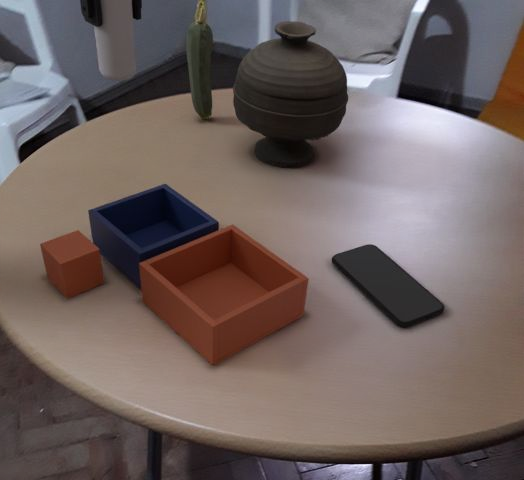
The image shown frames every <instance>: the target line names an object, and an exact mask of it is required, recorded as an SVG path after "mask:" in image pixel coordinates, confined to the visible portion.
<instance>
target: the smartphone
mask: <svg viewBox="0 0 524 480" xmlns="http://www.w3.org/2000/svg"><path fill="white" fill-rule="evenodd" d="M331 263H332V264H333V266H335V268H336V269H337V270H338V271H340V272H341V273H342V275H344V276H345V277H346V278H347V279H348V280H349V281H350V282H351V283H353V285H355V287H356V288H358V289H359V290H360V291H361V292H362V293H363V294H364V295H365V296H366V297H367V298H368V299H369V300H370V301H371V302H373V304H375V305H376V306H377V307H378V308H379V309H380V310H381V312H383V313H384V314H385V315H386V316H387V317H388V318H389V319H390V320H391V321H393V322H394V323H395V324H396V325H397V326H399V327H401V328H403V327H404V328H406V327H410V326H412V325H415V324H417V323H418V324H419V323H421V322H423V321H426V320H429V319H431V318H432V317H435V316H438V315H441V314H443V312H444V311H445V305H444V303H443V302H442V301H440V299H439V298H437V297H436V296H435V295H434V294H433V293H431V292H430V291H429V290H428V289H427V288H426V287H425V286H423V285H422V284H421V283H420V282H419V281H417V279H415V277H413V276H412V275H411V274H410V273H408V272H407V271H406V270H405V269H404V268H402V267H401V266H400V265H399V264H398V263H397V262H396V261H394V259H393V258H391V257H390V256H389V255H387V254H386V253H385V252H384V251H383V250H382V249H381V248H379V247H378V246H377V245H375V244H371V243H370V244H369V243H368V244H364V245H361V246H358V247H355V248H351V249H348V250H345V251H342V252H338V253H336V254H334V255H332V258H331Z"/></svg>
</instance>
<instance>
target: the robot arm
mask: <svg viewBox="0 0 524 480" xmlns="http://www.w3.org/2000/svg"><path fill="white" fill-rule="evenodd" d="M79 3H80V11H81V14H82V16H83V18H84V21H85V22H86V23H88V24H90V25H92V26H93V27H94V26H96V27H100V26H102V24H103V22H102V12H101V2H100V0H79ZM142 8H143V1H142V0H132V12H133V20H136V21H138V20H141V19H142Z"/></svg>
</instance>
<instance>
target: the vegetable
mask: <svg viewBox="0 0 524 480" xmlns="http://www.w3.org/2000/svg"><path fill="white" fill-rule="evenodd" d="M206 2H207V1H206V0H197V5H196V6H197V7H196V10H195V13H194V21H192V22H191V23H190V24H189V26H188V28H187V32H186V37H185V42H186V43H185V44H186V46H185V47H186V60H187V68H188V77H189V86H190V87H189V88H190V96H191V101H192V105H193V109H194V111H195V113H196V114H197V115H198V116H199V117H200V119H201V120H210V119H211V118H210V117H212V114H213V112H212V110H213V94H212V85H211V72H210V69H211V68H210V67H211V59H212V51H213V46H214V45H213V44H214V34H213V29H212V28H211V26H210V25H209V24H208V23H207V22H206V21H207V3H206Z"/></svg>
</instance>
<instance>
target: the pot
mask: <svg viewBox="0 0 524 480" xmlns="http://www.w3.org/2000/svg"><path fill="white" fill-rule="evenodd" d="M274 32H275V34H276V35H278V36H279V37H280V38H279V37H277V38H273V39H269V40H266V41H262V42H260V43H259V44H257V45H256V46H254V47H253V48H252V49H250V50H249V52H248V53H247V54H246V55H245V56H244V57H243V58H242V60H241V62H240V63H239V65H238V69H237V72H236V76H235V81H234V84H233V86H232V92H233V98H232V103H233V108H234V113H235V116H236V118H237V120H238V121H239V122H240V123H241V124H243V125H244V126H246V127H247V128H248V129H249V130H251V131H252V132H256V133H259V134H261V135H262V136H263V138H261V139H259V140H257V142H256V143H255V146H254V150H253V154H254V156H255V157H256V159H257V160H259V161H261V162H262V163H264V164H268V165H270V166H274V167H278V168H285V169H286V168H287V169H294V168H295V169H296V168H300V167H305V166H306V165H308V164H310V163H312V161H314V160H315V158H316V150H315V148H314V147H313V145H312V144H311V143H310V142H308V141H319V140H321V139H322V138H328V137H329V136H330V135H331V134H332V133H334V132H335V131H336V130H338V128H339V127H340V125H341V124H342V121H343V119H344V117H345V115H346V113H347V104H348V102H349V94H348V76H347V73H346V70H345V67H344V66H343V64H342V63H341V62H340V60H339V59H338V58H337V57H336V56H335V55H334V54H333V53H332V52H331V51H330V50H329V49H328V48H326V47H325V46H322V45H321V44H318V43H316V42H314V41H311V40H309V39H310V38H311V37H312V36H315V35H316V34H317V33H316V32H317V30H316V27H315V26H313V25H310V24H307V23H305V22H302V21H296V20H295V21H294V20H293V21H291V20H288V21H287V20H286V21H280V22H278V23H276V24H275V25H274Z"/></svg>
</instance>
